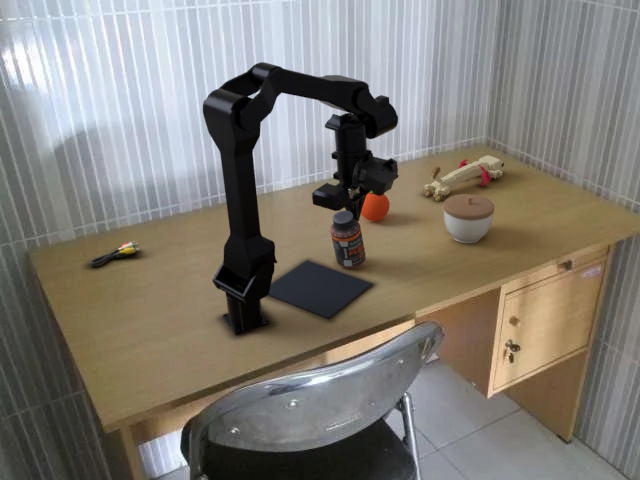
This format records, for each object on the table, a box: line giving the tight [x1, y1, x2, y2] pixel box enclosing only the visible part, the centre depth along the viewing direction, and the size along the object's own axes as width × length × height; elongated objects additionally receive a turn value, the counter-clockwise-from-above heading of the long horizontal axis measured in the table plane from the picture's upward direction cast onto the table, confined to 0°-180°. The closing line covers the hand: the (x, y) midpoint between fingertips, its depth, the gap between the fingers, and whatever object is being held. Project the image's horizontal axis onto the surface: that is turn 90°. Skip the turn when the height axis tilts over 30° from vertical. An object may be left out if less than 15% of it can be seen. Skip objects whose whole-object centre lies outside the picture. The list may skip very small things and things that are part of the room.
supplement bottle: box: [329, 210, 367, 270], centre depth 133 cm, size 6×6×11 cm
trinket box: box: [443, 193, 495, 244], centre depth 145 cm, size 11×11×9 cm
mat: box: [267, 260, 373, 320], centre depth 129 cm, size 14×16×1 cm
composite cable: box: [89, 240, 141, 267], centre depth 137 cm, size 10×5×2 cm, turn 123°
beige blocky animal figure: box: [422, 155, 505, 202], centre depth 169 cm, size 10×9×25 cm
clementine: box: [361, 191, 390, 222], centre depth 153 cm, size 8×7×7 cm
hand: (355, 221), depth 134 cm, fingers closed
